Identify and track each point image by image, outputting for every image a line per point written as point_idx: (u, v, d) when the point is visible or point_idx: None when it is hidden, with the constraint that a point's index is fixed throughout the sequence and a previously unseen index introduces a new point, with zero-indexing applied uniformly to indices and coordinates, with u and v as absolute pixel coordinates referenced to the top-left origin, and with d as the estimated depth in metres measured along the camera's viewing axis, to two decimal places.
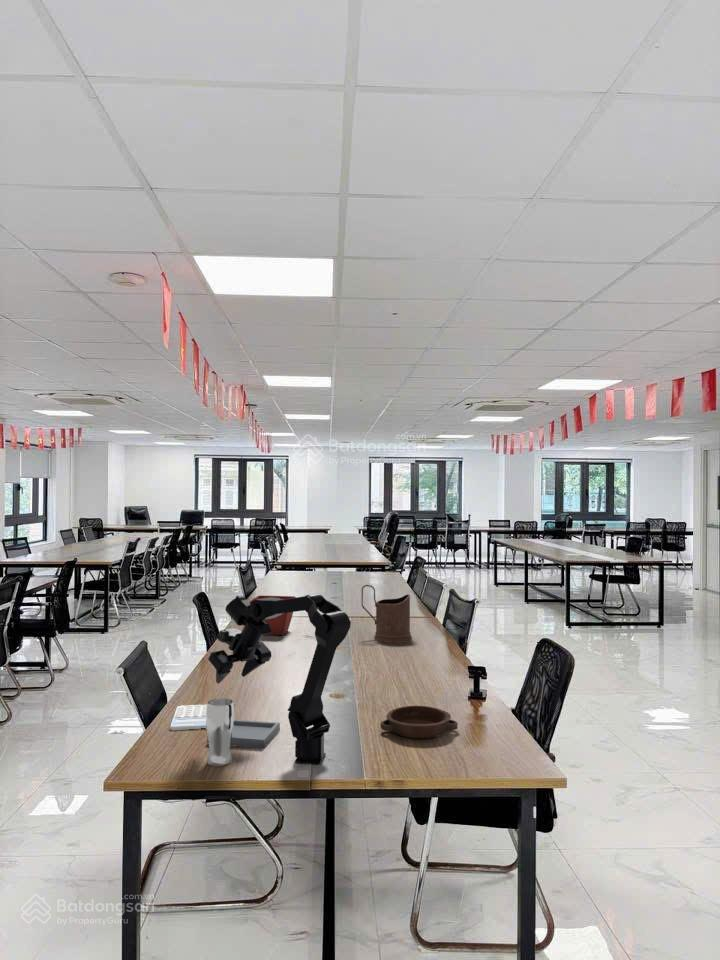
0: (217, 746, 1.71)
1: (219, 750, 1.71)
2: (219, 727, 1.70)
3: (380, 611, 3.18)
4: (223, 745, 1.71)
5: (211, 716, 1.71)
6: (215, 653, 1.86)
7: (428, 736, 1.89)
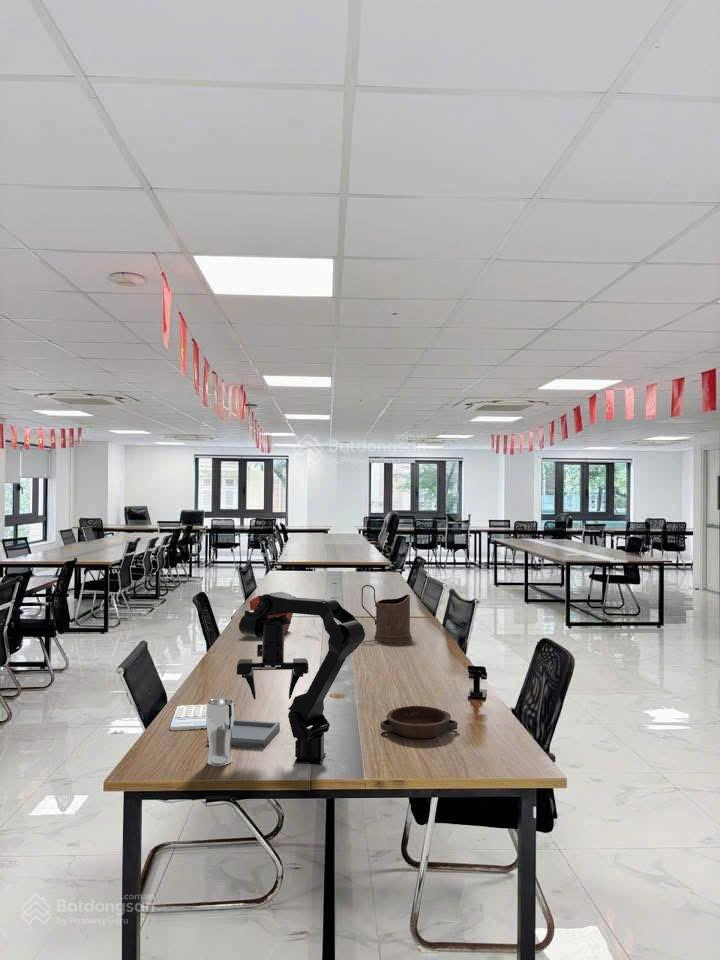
0: (217, 746, 1.71)
1: (219, 750, 1.71)
2: (219, 727, 1.70)
3: (380, 611, 3.18)
4: (223, 745, 1.71)
5: (211, 716, 1.71)
6: (240, 659, 1.84)
7: (428, 736, 1.89)
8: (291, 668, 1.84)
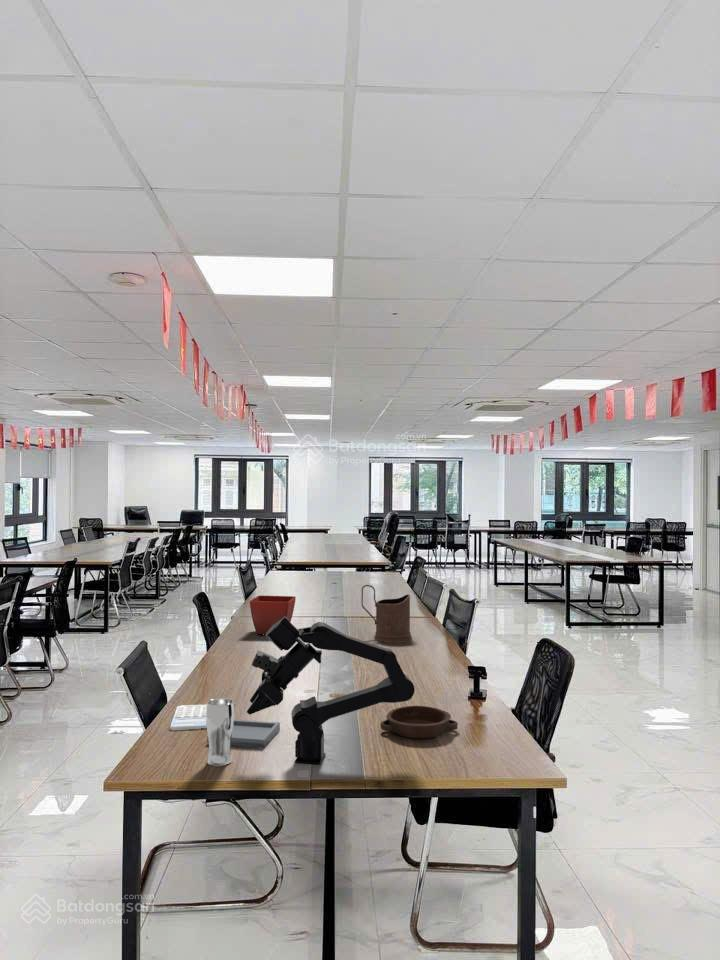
0: (217, 746, 1.71)
1: (219, 750, 1.71)
2: (219, 727, 1.70)
3: (380, 611, 3.18)
4: (223, 745, 1.71)
5: (211, 716, 1.71)
6: (271, 683, 1.66)
7: (428, 736, 1.89)
8: None
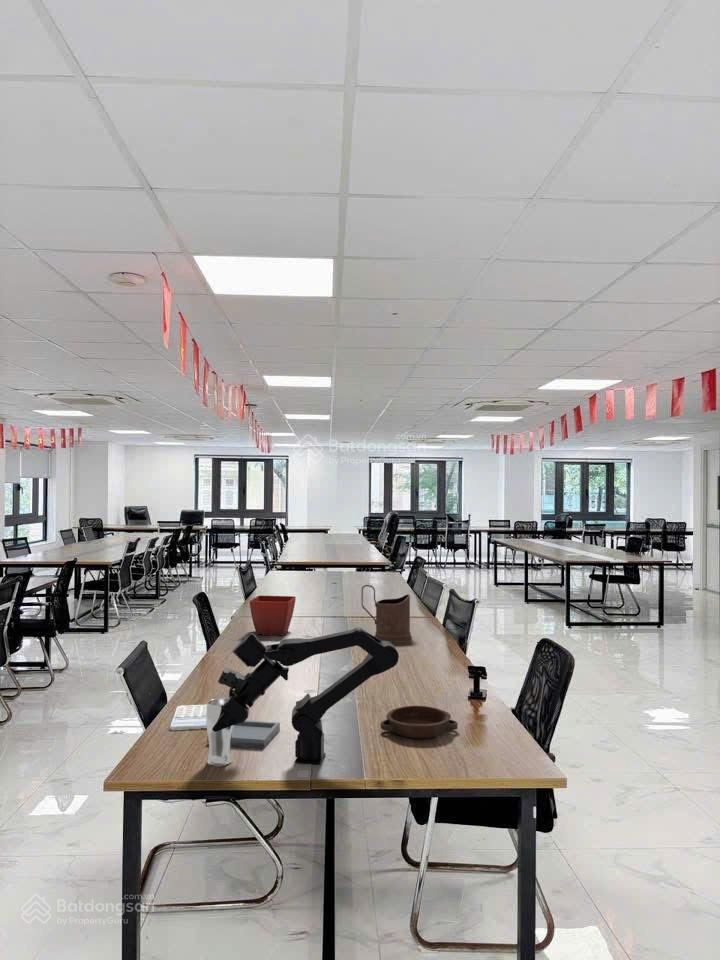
0: (217, 746, 1.71)
1: (219, 750, 1.71)
2: None
3: (380, 611, 3.18)
4: (223, 745, 1.71)
5: (211, 716, 1.71)
6: (236, 701, 1.66)
7: (428, 736, 1.89)
8: None
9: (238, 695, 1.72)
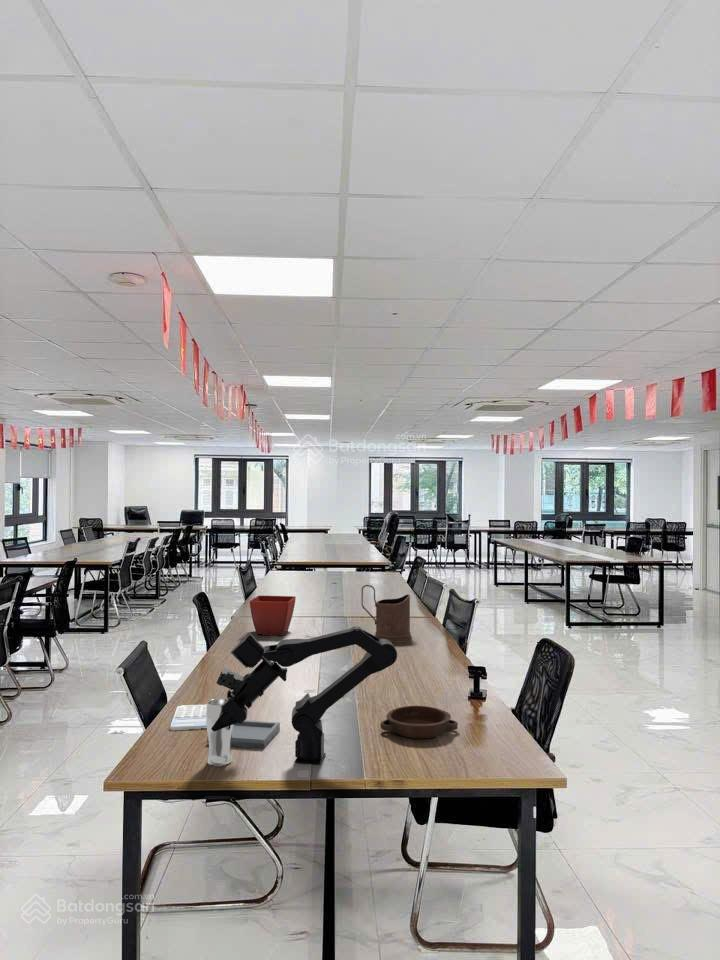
0: (217, 746, 1.71)
1: (219, 750, 1.71)
2: None
3: (380, 611, 3.18)
4: (223, 745, 1.71)
5: (211, 716, 1.71)
6: (234, 702, 1.66)
7: (428, 736, 1.89)
8: None
9: (237, 696, 1.72)
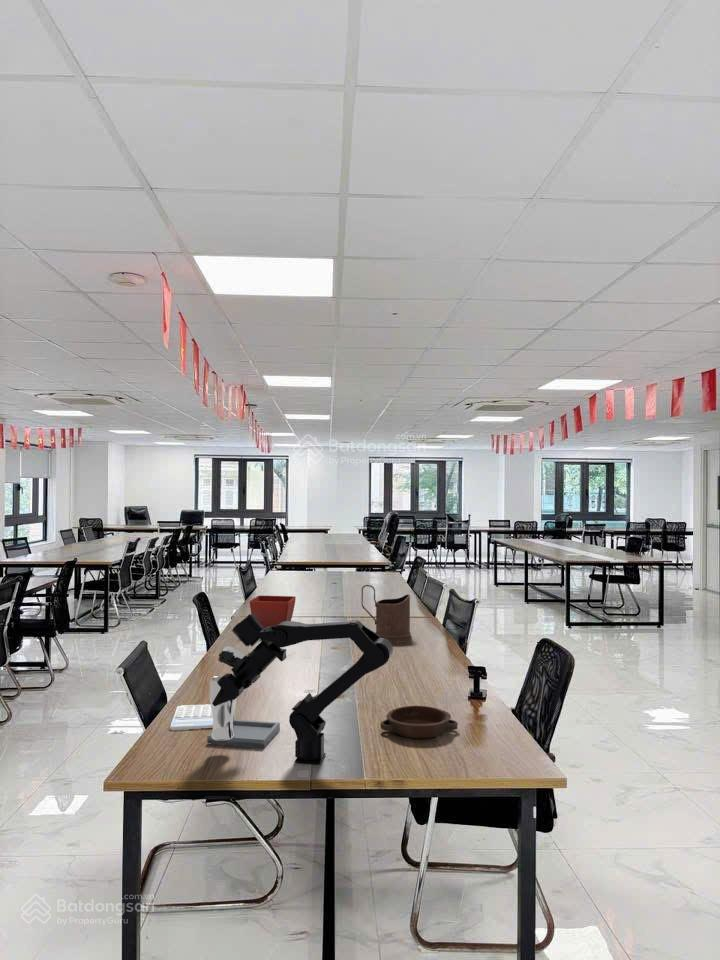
0: (218, 721, 1.77)
1: (220, 725, 1.77)
2: None
3: (380, 611, 3.18)
4: (224, 720, 1.77)
5: (212, 691, 1.77)
6: (228, 678, 1.71)
7: (428, 736, 1.89)
8: None
9: (236, 673, 1.77)
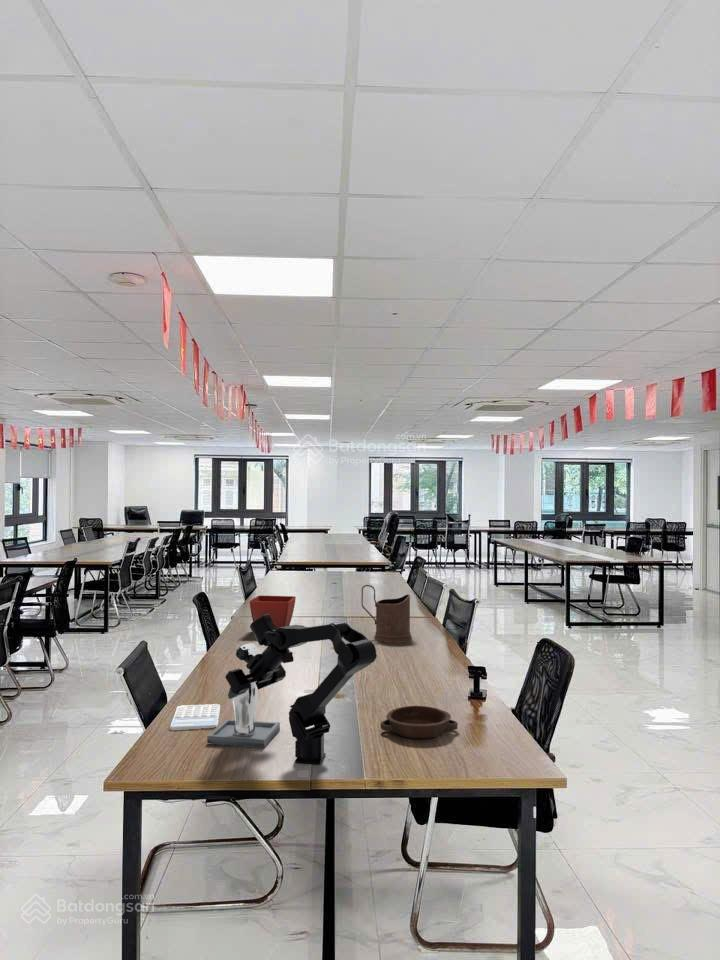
0: (236, 717, 1.89)
1: (238, 721, 1.89)
2: (236, 700, 1.88)
3: (380, 611, 3.18)
4: (241, 717, 1.88)
5: None
6: (233, 673, 1.82)
7: (428, 736, 1.89)
8: None
9: (250, 670, 1.87)
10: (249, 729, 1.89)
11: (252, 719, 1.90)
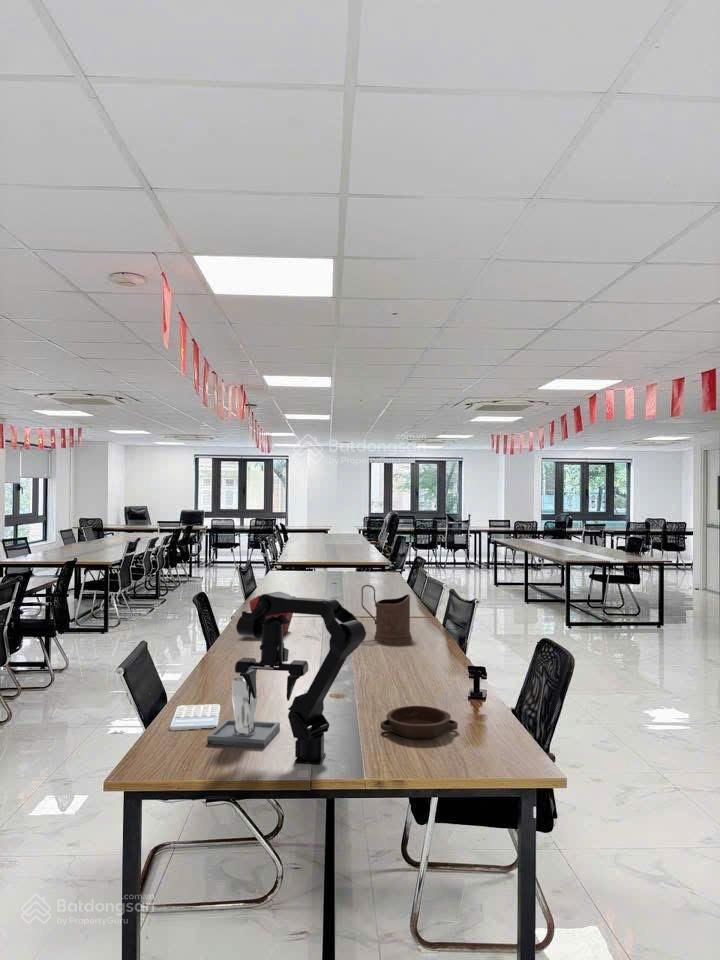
0: (236, 717, 1.89)
1: (238, 721, 1.89)
2: (236, 700, 1.88)
3: (380, 611, 3.18)
4: (241, 717, 1.88)
5: (232, 689, 1.90)
6: (243, 658, 1.86)
7: (428, 736, 1.89)
8: None
9: None
10: (249, 729, 1.89)
11: (252, 719, 1.90)
